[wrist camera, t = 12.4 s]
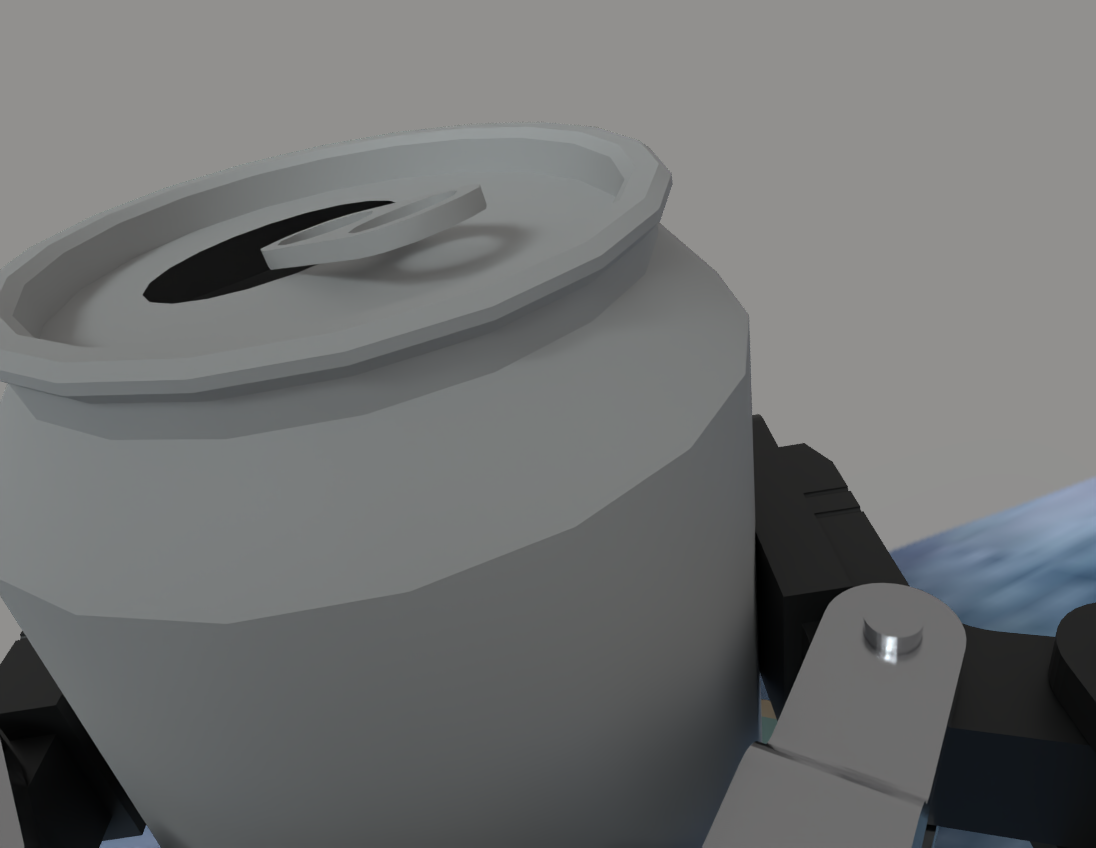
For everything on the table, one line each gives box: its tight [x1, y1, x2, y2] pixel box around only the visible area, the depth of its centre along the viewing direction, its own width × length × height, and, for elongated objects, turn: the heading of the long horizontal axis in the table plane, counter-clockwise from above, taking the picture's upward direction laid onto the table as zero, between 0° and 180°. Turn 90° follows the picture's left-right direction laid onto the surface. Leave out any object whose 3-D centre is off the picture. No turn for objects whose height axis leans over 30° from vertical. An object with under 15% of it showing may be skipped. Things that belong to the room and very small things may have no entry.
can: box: [0, 122, 762, 848], centre depth 11 cm, size 8×8×12 cm
